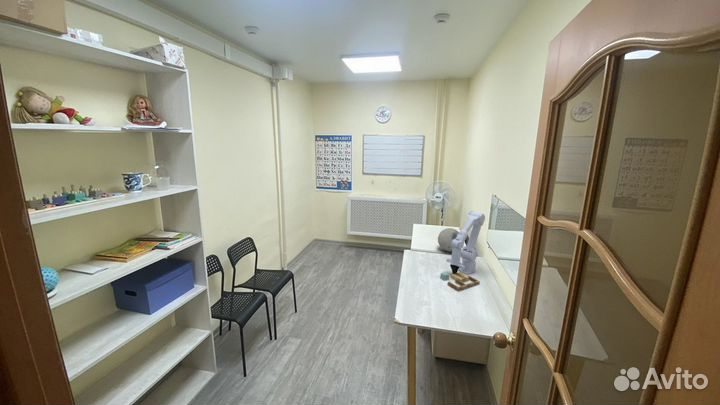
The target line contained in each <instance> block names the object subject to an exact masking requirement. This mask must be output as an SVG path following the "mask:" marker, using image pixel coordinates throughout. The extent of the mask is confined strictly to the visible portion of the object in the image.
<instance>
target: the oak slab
mask: <svg viewBox="0 0 720 405" xmlns="http://www.w3.org/2000/svg"><path fill="white" fill-rule="evenodd" d="M450 276H451V277H450V278H451V279H452V280H453V281H455V280H456V279H457V280H459V281H461V282H463V283H466V282H469V281H470V280H469V277H468V276H469V275H467V274H465V273H463V272H462V271H457V273H455V274H451V275H450Z"/></svg>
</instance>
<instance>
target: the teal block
mask: <svg viewBox="0 0 720 405" xmlns="http://www.w3.org/2000/svg"><path fill="white" fill-rule="evenodd" d="M440 279H441V280H442V281H444V282H445V281H448V280H449V279H450V273H448V272H446V271H444V272H440Z"/></svg>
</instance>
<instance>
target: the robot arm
mask: <svg viewBox="0 0 720 405" xmlns="http://www.w3.org/2000/svg"><path fill="white" fill-rule="evenodd" d="M485 220H486V215H485V214H484V213H481V212H476V211H473V210H471V211H469V212H468V214H467V221H466V222H465V225H464V226H463V229H461V230H460V231H458V232H459V234H458V235H457V237H456V238H455V239H454V240H452V242H451V246H452V252H451V258H450V257H449V258H446V262H448V263H450V264H449V266H450V269H451V272H452V274H455V273H458V272H461V273H463V274H464V275H471V274H473V273H476V272H477V270H476V264H477V262H476V260H477V254H478V250H476V249H475V247H476V244H477V241H478V238H479V235H480V231H481V228H482V226H483V225H484V223H485ZM470 230H471V231H470ZM469 231H470V234H469ZM468 234H469V235H468ZM468 236H469V238H468V241H467V244H466V245H464V244H465V241H466V240H467V237H468ZM461 259H462V262H461ZM452 274H451V275H452Z"/></svg>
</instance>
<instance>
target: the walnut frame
mask: <svg viewBox="0 0 720 405" xmlns="http://www.w3.org/2000/svg"><path fill="white" fill-rule="evenodd" d="M467 276H468V277H469V281H471V282H469V283H465V282H461V281H459V280H457V279H456V280H454V283H455V284H454V283H453V282H451V281H448V282H447V286H449V287H450V288H452V289H453V290H456V291H457V292H461V291H463V290H467V289H469V288H472V287H476V286H478V285H480V283H481V282H480V280H479V279H477V278H474V277H472V276H470V275H467ZM458 285H459V286H458Z"/></svg>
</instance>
